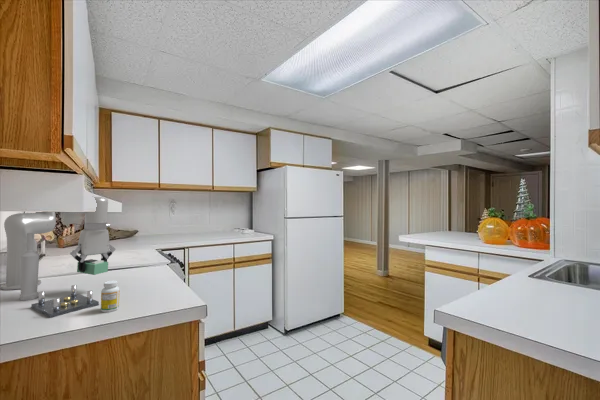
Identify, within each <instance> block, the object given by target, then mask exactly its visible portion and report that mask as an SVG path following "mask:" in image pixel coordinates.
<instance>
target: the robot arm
mask: <svg viewBox="0 0 600 400" xmlns="http://www.w3.org/2000/svg"><path fill="white" fill-rule="evenodd" d="M93 197H94V198H95V200H96V203H97V207H96V211H95V212H61V213H62V214H64V215H65V214H66V215H70V214H71V215H72V214H84V222H83V223H84V226H83V227H84V228H83V229H81V231H80V234H79V238H78V243H77V247H76V248H74V249H72V251H70V252H69V255H70V256H71V257H73V259H75V260H76V261H78V262H79V265H78V264H77V265H78V269H79V271H81V272H85V262H84V260H86V259H87V257H88V256H93V255H94V256H95V255H101V258H100V260H102V261H104V262H108V259H109V257H111V256H112V254H113V253H114V252H115V250H116V248H115V247H114V246H113V245H111V244H110V234H109V230H108V227H109V228H110V226H111V224H110V223H108V209H109V200H108V198H107V197H102V196H93ZM56 220H57V219H56V211H55V212H22V213H20V212H19V213H14V214H11V215H9V216H7V217H6V218H5V220H4V223H3V227H4V232H5V237H6V265H5V266H6V268H5V269H6V272H5V276H6V277H5V283H3V284H0V289H1V290H5V291H6V290H7V291H8V290H9V291H10V290H12V291H13V290H21V255H23V254H24V253H25V251H27V233H34V235H38V234H39V235H40V234H46V233H47V234H48V233H50V232H52V231H53V230H55V228H56V225H57V221H56ZM34 250H35V252H36V253H38V243H37V241H36V239H35V238H34ZM41 283H42V281H41V279H38V286H39V285H40V284H41Z"/></svg>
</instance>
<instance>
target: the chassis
mask: <svg viewBox="0 0 600 400" xmlns="http://www.w3.org/2000/svg"><path fill="white" fill-rule="evenodd" d="M70 289H71V290H70V295H67V296H62V297H55V298H53V299H49V300H45V299H46V297H45V296H46V291H38V300H37V301H38V302H35V303H31V307H30V308H32V309H33V310H34V311H37V312H38V313H41V314H42V315H44V316H46V317H48V318H51V319H52V318H55V317H58V316H62V315H66V314H70V313H74V312H76V311H81V310H84V309H90V308H91V307H96V306H99V304H100V303H99V301H98V300H95V299H93V297H94V296H93V295H94V294H93V290H87V291H86V296H85V295H83V294H80V293H77V292H78V291H77V290H78V289H77V284H73V285H71V286H70Z"/></svg>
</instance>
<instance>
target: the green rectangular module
mask: <svg viewBox="0 0 600 400" xmlns="http://www.w3.org/2000/svg"><path fill="white" fill-rule="evenodd" d="M84 262H85V272H81V271H79V269H78V265H79V261H78V262H77V266H76V272H77V273H80V274H87V275H92V276H96V275H99V274H104V273H107V272H108V271H109V261H107V262H104V261H102V260H101V259H100V260H98V259H91V258H90V259H85V260H84Z"/></svg>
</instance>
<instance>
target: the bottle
mask: <svg viewBox="0 0 600 400" xmlns="http://www.w3.org/2000/svg"><path fill="white" fill-rule="evenodd" d="M34 239H35V234H34V233H27V251H25V253H24V254H23V255H21V289H20V294H19V300H20V301H30V300H34V299H35V300H36V299H37V298H39V291H38V286H39V285H38V280H39V267H40V266H39V264H40V263H39V262H40V254H39V253H38V252H37V253H36V252H35V250H34Z"/></svg>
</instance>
